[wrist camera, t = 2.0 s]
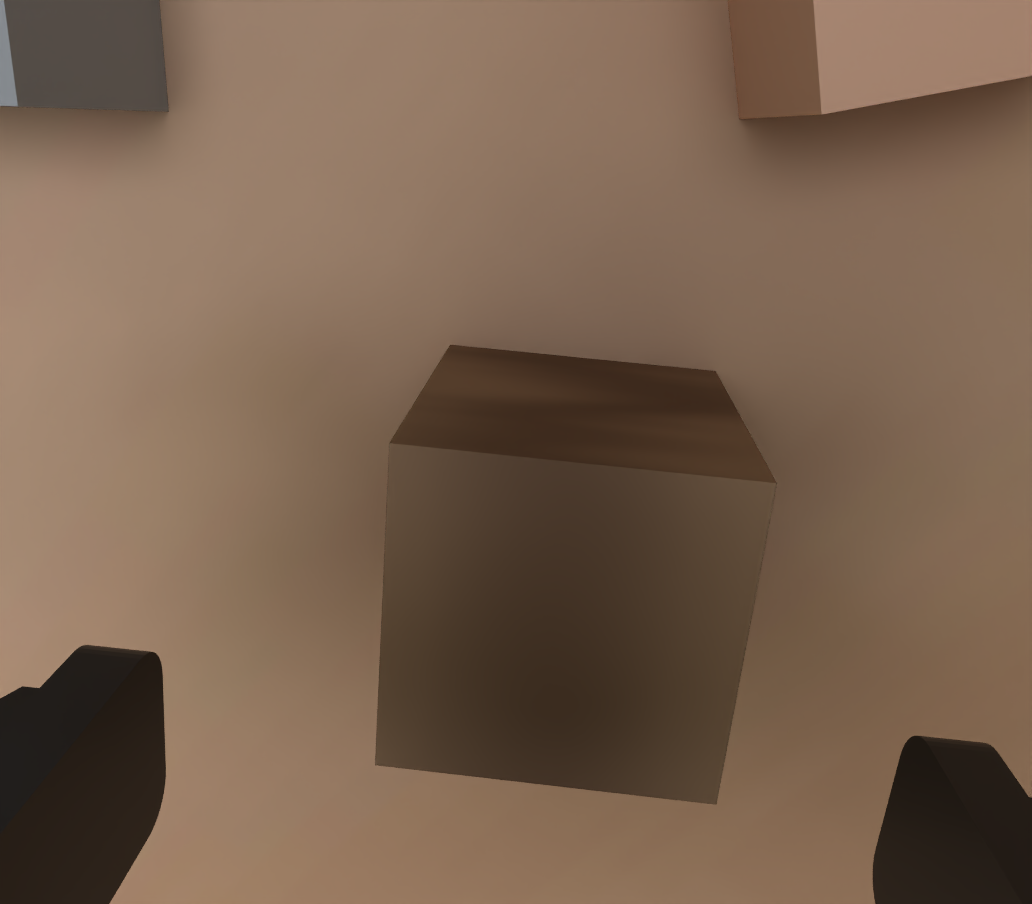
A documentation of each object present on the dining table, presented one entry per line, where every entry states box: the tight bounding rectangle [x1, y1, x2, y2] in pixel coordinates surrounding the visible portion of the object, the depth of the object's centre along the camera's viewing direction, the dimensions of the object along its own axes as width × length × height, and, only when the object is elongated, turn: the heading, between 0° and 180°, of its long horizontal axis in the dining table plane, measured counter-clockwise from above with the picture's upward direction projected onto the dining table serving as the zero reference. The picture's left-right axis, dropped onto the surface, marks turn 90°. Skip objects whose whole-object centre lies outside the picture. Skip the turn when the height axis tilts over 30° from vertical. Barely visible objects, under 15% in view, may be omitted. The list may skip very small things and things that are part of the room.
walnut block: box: [375, 345, 777, 804], centre depth 16 cm, size 5×5×6 cm
